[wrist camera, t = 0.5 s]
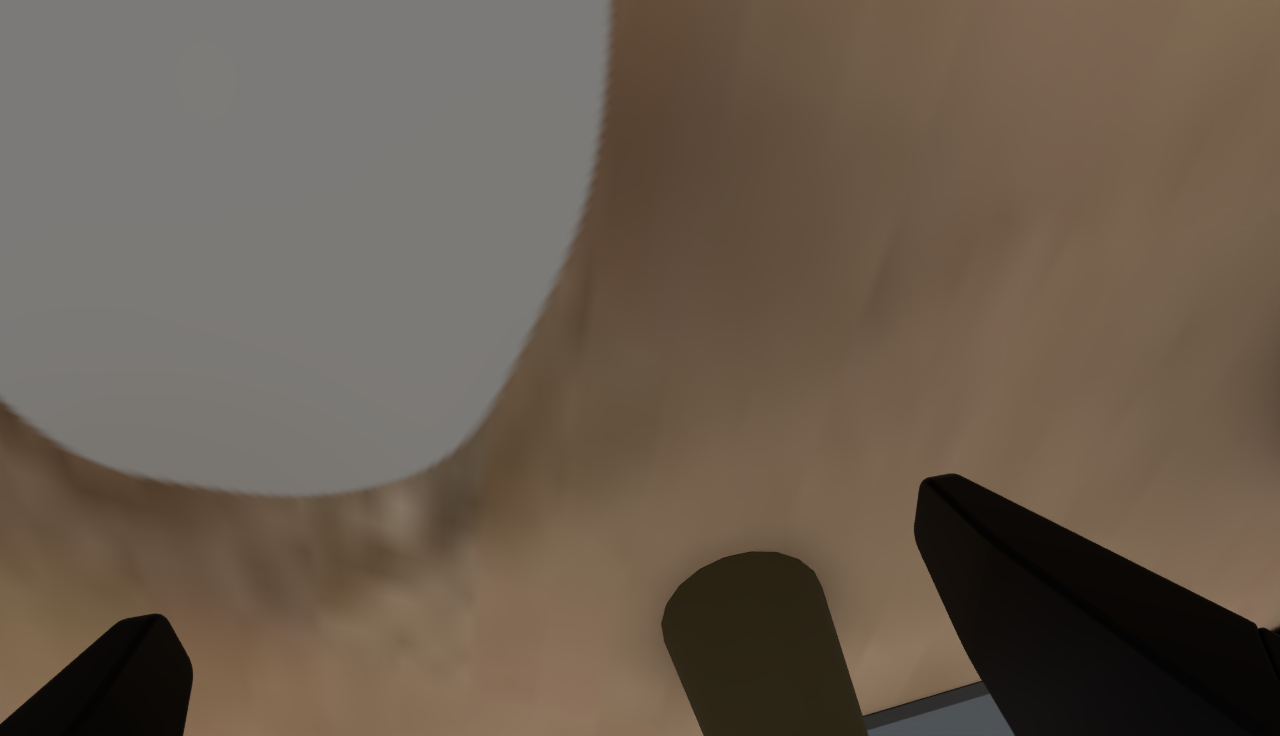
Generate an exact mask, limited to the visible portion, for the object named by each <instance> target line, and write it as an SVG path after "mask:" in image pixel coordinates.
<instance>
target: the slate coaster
mask: <svg viewBox="0 0 1280 736" xmlns="http://www.w3.org/2000/svg"><path fill="white" fill-rule="evenodd" d="M863 719H864V722H865V725H866V728H867V732H868V735H869V736H1015V735H1014V734H1013V732H1012V730H1011V729H1010V727H1009V725H1008V724H1007V722H1006V720H1005V719H1004V717H1003V715H1002V713H1001V712H1000V710H999V708H998V707H997V705H996V703H995V702H994V700H993V698H992V697H991V695H990V693H989V692H988V690H987V688H986V686H985V685H984V683H983V682H979V683H976V684H973V685H969V686H966V687H963V688H959V689H956V690H953V691H949V692H946V693H943V694H939V695H936V696H932V697H929V698H926V699H922V700H919V701H916V702H912V703H909V704H906V705H902V706H899V707H896V708H892V709H889V710H886V711H882V712H879V713H876V714H872V715H869V716H865V717H863Z"/></svg>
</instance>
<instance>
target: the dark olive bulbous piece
mask: <svg viewBox="0 0 1280 736" xmlns="http://www.w3.org/2000/svg"><path fill="white" fill-rule="evenodd" d="M662 630H663V636H664V642H665V644H666V647H667V649H668V651H669V654H670V656H671V659H672V661H673V663H674V666H675V668H676V671H677V673H678V675H679V678H680V680H681V683H682V685H683V687H684V690H685V692H686V695H687V697H688V699H689V702H690V704H691V707H692V709H693V711H694V714H695V716H696V718H697V721H698V723H699V726H700V728H701V730H702V733H703V735H704V736H869V735H868V732H867V728H866V725H865V722H864V719H863V716H862V713H861V709H860V706H859V703H858V700H857V697H856V693H855V690H854V687H853V684H852V681H851V678H850V674H849V671H848V668H847V665H846V662H845V658H844V655H843V652H842V649H841V646H840V643H839V639H838V636H837V633H836V630H835V627H834V623H833V620H832V617H831V614H830V611H829V608H828V604H827V601H826V598H825V595H824V592H823V588H822V586H821V584H820V582H819V580H818V578H817V576H816V574H815V572H814V571H813V570H811V569H810V568H809V567H808V566H806V565H805V564H804V563H802V562H801V561H800V560H799V559H796V558H792V557H789V556H786V555H783V554H780V553H774V552H749V553H744V554H740V555H735V556H730V557H726V558H723V559H721V560H719V561H717V562H715V563H713V564H710V565H708V566H706V567H704V568H702V569H700V570H699V571H697V572H696V573H695V574H694V575H692V576H691V577H690V578H689V579H688V580H686V581H685V582H684V583H683V584H681V585H680V586H679V588H678V589H677V591H676V592H675V593H674V595H673V596H672V598H671V599H670V601H669V602H668V603H667V605H666V609H665V613H664V616H663V620H662Z"/></svg>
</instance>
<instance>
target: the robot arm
mask: <svg viewBox="0 0 1280 736" xmlns="http://www.w3.org/2000/svg"><path fill="white" fill-rule="evenodd" d="M914 535H915V540H916V544H917V547H918V549H919V551H920V553H921V556H922V558H923V560H924V562H925V564H926V567H927V569H928V571H929V573H930V575H931V578H932V580H933V582H934V584H935V586H936V589H937V591H938V593H939V595H940V597H941V600H942V602H943V604H944V606H945V608H946V611H947V613H948V615H949V617H950V619H951V621H952V624H953V626H954V628H955V630H956V632H957V635H958V637H959V639H960V641H961V643H962V645H963V647H964V649H965V651H966V653H967V655H968V657H969V659H970V660H971V662H972V664H973V666H974V668H975V669H976V671H977V673H978V675H979V676H980V678H981V680H982V681H983V683H984V685H985V686H986V688H987V690H988V692H989V693H990V695H991V697H992V698H993V700H994V702H995V703H996V705H997V707H998V708H999V710H1000V712H1001V713H1002V715H1003V717H1004V719H1005V720H1006V722H1007V724H1008V725H1009V727H1010V729H1011V730H1012V732H1013V734H1014V735H1015V736H1280V635H1278V634H1276V633H1274V632H1272V631H1270V630H1268V629H1266V628H1259V629H1258V628H1257V626H1256V624H1255V623H1254V622H1252V621H1250V620H1248V619H1246V618H1244V617H1242V616H1240V615H1238V614H1236V613H1234V612H1232V611H1230V610H1228V609H1226V608H1224V607H1222V606H1220V605H1218V604H1216V603H1214V602H1212V601H1210V600H1208V599H1206V598H1204V597H1202V596H1200V595H1198V594H1196V593H1194V592H1192V591H1190V590H1188V589H1186V588H1184V587H1182V586H1180V585H1178V584H1176V583H1174V582H1172V581H1170V580H1168V579H1166V578H1164V577H1162V576H1160V575H1158V574H1156V573H1154V572H1152V571H1150V570H1148V569H1146V568H1144V567H1142V566H1140V565H1138V564H1136V563H1134V562H1132V561H1130V560H1128V559H1126V558H1124V557H1122V556H1120V555H1118V554H1116V553H1114V552H1112V551H1110V550H1108V549H1106V548H1104V547H1102V546H1100V545H1098V544H1096V543H1094V542H1092V541H1090V540H1088V539H1086V538H1084V537H1082V536H1080V535H1078V534H1076V533H1074V532H1072V531H1070V530H1068V529H1066V528H1064V527H1062V526H1060V525H1058V524H1056V523H1054V522H1052V521H1050V520H1048V519H1046V518H1044V517H1042V516H1040V515H1038V514H1036V513H1034V512H1032V511H1030V510H1028V509H1026V508H1024V507H1022V506H1020V505H1018V504H1016V503H1014V502H1012V501H1010V500H1008V499H1006V498H1004V497H1002V496H1000V495H998V494H996V493H994V492H992V491H990V490H988V489H986V488H984V487H982V486H980V485H978V484H976V483H974V482H972V481H970V480H968V479H966V478H964V477H962V476H960V475H958V474H944V475H939V476H933V477H928V478H926V479H924V480H923V481H922V482H921V484H920V487H919V493H918V501H917V508H916V516H915V523H914ZM192 682H193V669H192V664H191V661H190V659H189V657H188V655H187V653H186V651H185V649H184V648H183V646H182V644H181V642H180V640H179V639H178V637H177V635H176V633H175V631H174V630H173V628H172V626H171V624H170V622H169V621H168V619H167V618H166V617H164V616H163V615H161V614H149V615H143V616H137V617H132V618H127V619H124V620H121V621H119V622H117V623H116V624H115V625H114V626H112V627H111V628H110V629H109V630H108V631H107V632H105V633H104V634H103V635H102V636H101V637H100V638H99V639H97V640H96V641H95V642H94V643H93V644H92V645H90V646H89V647H88V648H87V649H86V650H85V651H84V652H82V653H81V654H80V655H79V656H78V657H77V658H76V659H74V660H73V661H72V662H71V663H70V664H69V665H68V666H66V667H65V668H64V669H63V670H62V671H61V672H60V673H58V674H57V675H56V676H55V677H54V678H53V679H51V680H50V681H49V682H48V683H47V684H46V685H45V686H43V687H42V688H41V689H40V690H39V691H38V692H37V693H35V694H34V695H33V696H32V697H31V698H30V699H29V700H27V701H26V702H25V703H24V704H23V705H22V706H20V707H19V708H18V709H17V710H16V711H15V712H14V713H12V714H11V715H10V716H9V717H8V718H7V719H6V720H4V721H3V722H2V723H1V724H0V736H183V733H184V728H185V722H186V717H187V711H188V705H189V700H190V694H191V689H192Z"/></svg>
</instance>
